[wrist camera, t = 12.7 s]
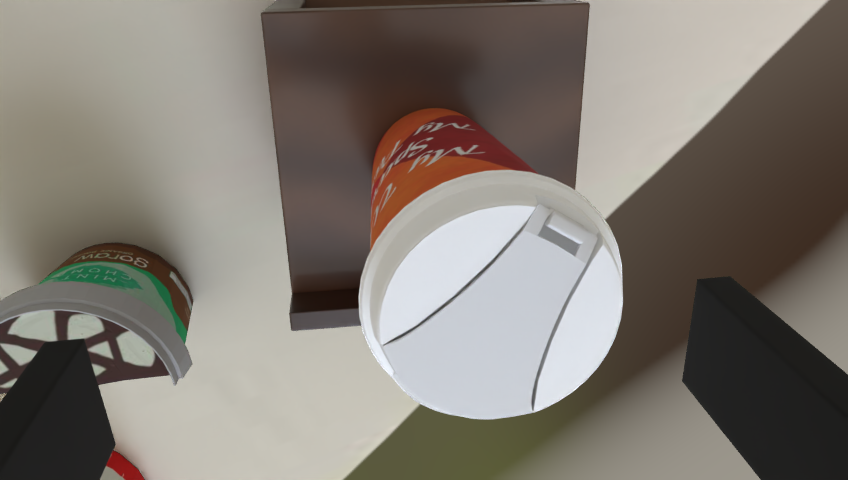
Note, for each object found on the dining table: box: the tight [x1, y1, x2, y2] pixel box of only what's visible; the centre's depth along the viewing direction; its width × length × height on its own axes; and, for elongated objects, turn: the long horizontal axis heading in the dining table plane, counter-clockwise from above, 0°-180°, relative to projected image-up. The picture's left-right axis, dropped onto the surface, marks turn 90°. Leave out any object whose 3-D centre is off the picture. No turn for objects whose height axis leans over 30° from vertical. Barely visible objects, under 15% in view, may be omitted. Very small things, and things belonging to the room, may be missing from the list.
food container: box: [0, 243, 193, 394], centre depth 40 cm, size 12×6×10 cm, turn 93°
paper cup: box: [358, 108, 623, 419], centre depth 24 cm, size 8×8×14 cm
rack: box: [261, 0, 590, 331], centre depth 35 cm, size 14×14×15 cm
